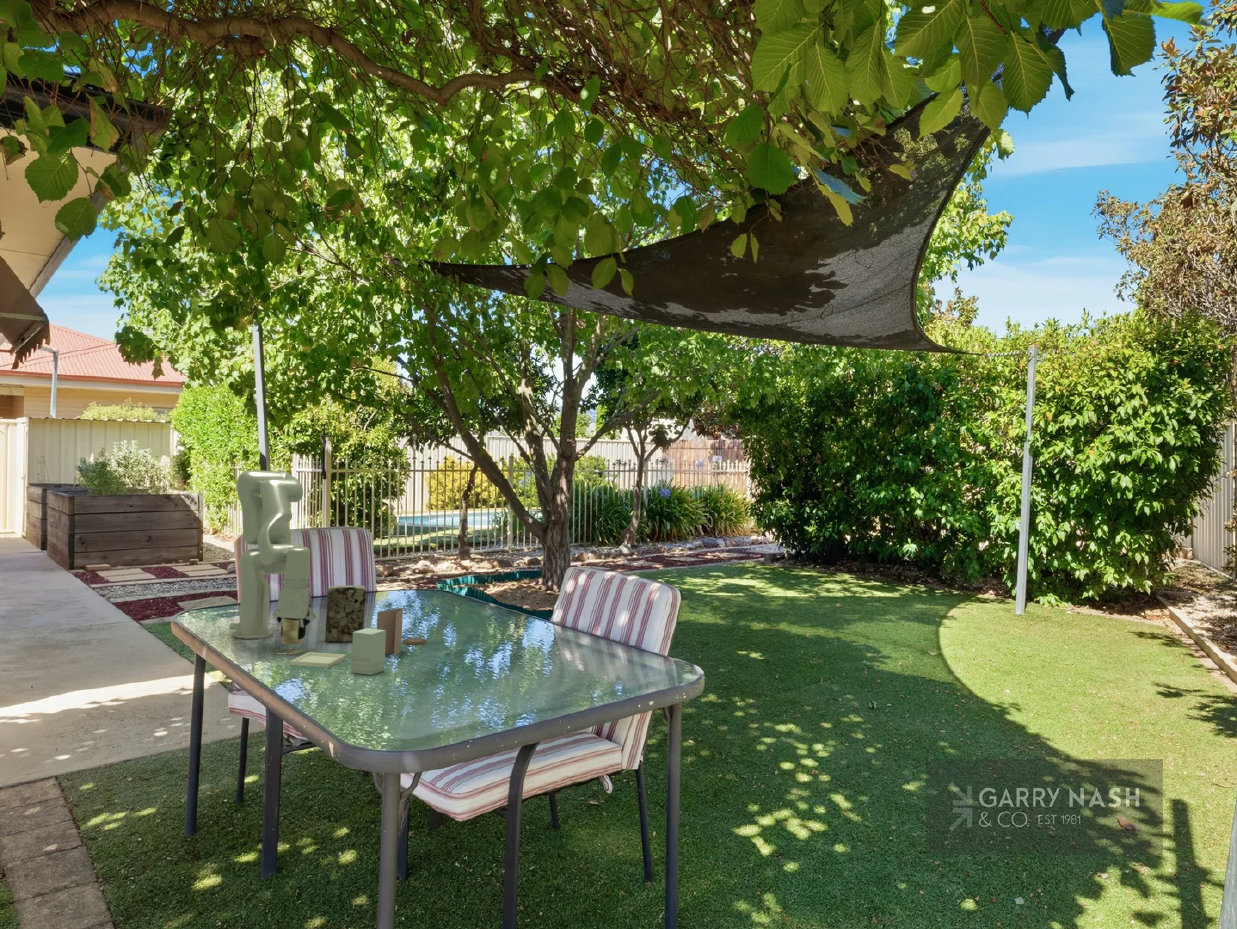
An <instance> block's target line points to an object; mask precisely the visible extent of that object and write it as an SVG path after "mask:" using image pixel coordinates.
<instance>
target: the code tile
mask: <svg viewBox="0 0 1237 929" xmlns="http://www.w3.org/2000/svg"><path fill="white" fill-rule="evenodd" d="M282 648H283V647H280V648H279V649H276V650H274V651H272V652H269V653H270V654H269V653H267V654H266V655H270V656H281V657H283V656H285V657H286V656H287V657H288V656H289V657H297V658H298V657H300V656H302V655H304V654H306V653H308V652H313V653H314V652H315V651H318V648H312V647H311V648H309V647H297V646H293V648H291V649H290V648H283V649H282ZM277 653H281V655H280V654H277ZM282 653H287V654H282ZM289 653H290V654H289ZM291 653H292V654H291Z"/></svg>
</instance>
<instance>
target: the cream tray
mask: <svg viewBox="0 0 1237 929" xmlns="http://www.w3.org/2000/svg"><path fill="white" fill-rule="evenodd" d="M346 660H347V654H345V653H344V654H343V653H330V652H329V653H328V652H327V653H325V652H314V651H313V652H308V653H306V654H304V655H302V656H300V657H298V656H297V657H296V658H293V659H291V660H290V661H289V666H298V667H311V668H327V669H331V668H332V667H334V666H336V665H338V664H340V663H341V662H343V661H346Z"/></svg>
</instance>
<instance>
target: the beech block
mask: <svg viewBox="0 0 1237 929" xmlns="http://www.w3.org/2000/svg"><path fill="white" fill-rule="evenodd" d="M299 627H300V622H299V619H291V618H286V619H283V631H282V635H281V644H283V645H284V644H287V645H298V644H301V643H303V642H304V638H302V639H298V631H299Z"/></svg>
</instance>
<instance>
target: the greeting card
mask: <svg viewBox="0 0 1237 929" xmlns="http://www.w3.org/2000/svg"><path fill="white" fill-rule="evenodd" d="M376 615H377V616H376V629H378V630H386V641H385V654H386V655H389V654H393V659H395V658H396V657H397V656H398V655H399V654H400V653H401V652H402V640H403V639H402V637H403V620H404V619H403V618H404V607H400V608H393V609H392V608H391V609H387V610H380V611H377V614H376Z"/></svg>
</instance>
